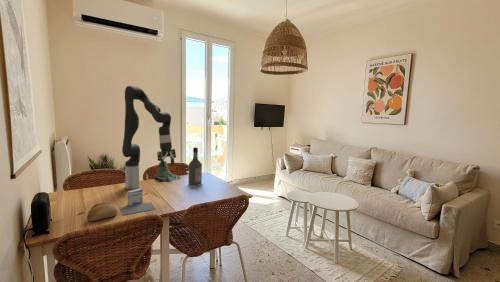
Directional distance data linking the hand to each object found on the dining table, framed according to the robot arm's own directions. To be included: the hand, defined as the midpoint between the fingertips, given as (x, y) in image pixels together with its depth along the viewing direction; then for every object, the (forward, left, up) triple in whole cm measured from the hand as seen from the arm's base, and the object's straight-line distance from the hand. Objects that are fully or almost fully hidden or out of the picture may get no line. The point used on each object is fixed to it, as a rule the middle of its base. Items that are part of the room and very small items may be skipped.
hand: (167, 165), depth 169 cm
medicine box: (+3, -21, -22) cm, 31 cm away
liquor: (-19, +28, -23) cm, 41 cm away
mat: (+11, -21, -22) cm, 33 cm away
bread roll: (+15, -40, -23) cm, 48 cm away
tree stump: (-44, +13, -23) cm, 52 cm away
